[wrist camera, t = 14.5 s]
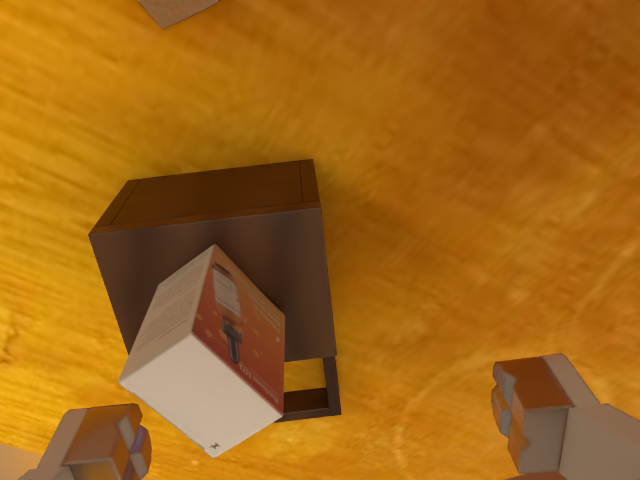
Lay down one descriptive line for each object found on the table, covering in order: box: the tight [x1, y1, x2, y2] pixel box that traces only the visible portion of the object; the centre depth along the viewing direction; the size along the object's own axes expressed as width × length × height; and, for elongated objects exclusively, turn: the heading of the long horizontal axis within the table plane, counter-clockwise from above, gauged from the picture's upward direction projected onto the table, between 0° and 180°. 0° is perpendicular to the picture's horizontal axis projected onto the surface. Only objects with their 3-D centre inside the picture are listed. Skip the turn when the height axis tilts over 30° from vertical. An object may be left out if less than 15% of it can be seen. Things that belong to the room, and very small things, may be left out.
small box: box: [118, 244, 285, 458], centre depth 34 cm, size 8×6×10 cm
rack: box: [88, 159, 341, 423], centre depth 47 cm, size 16×27×10 cm, turn 6°
